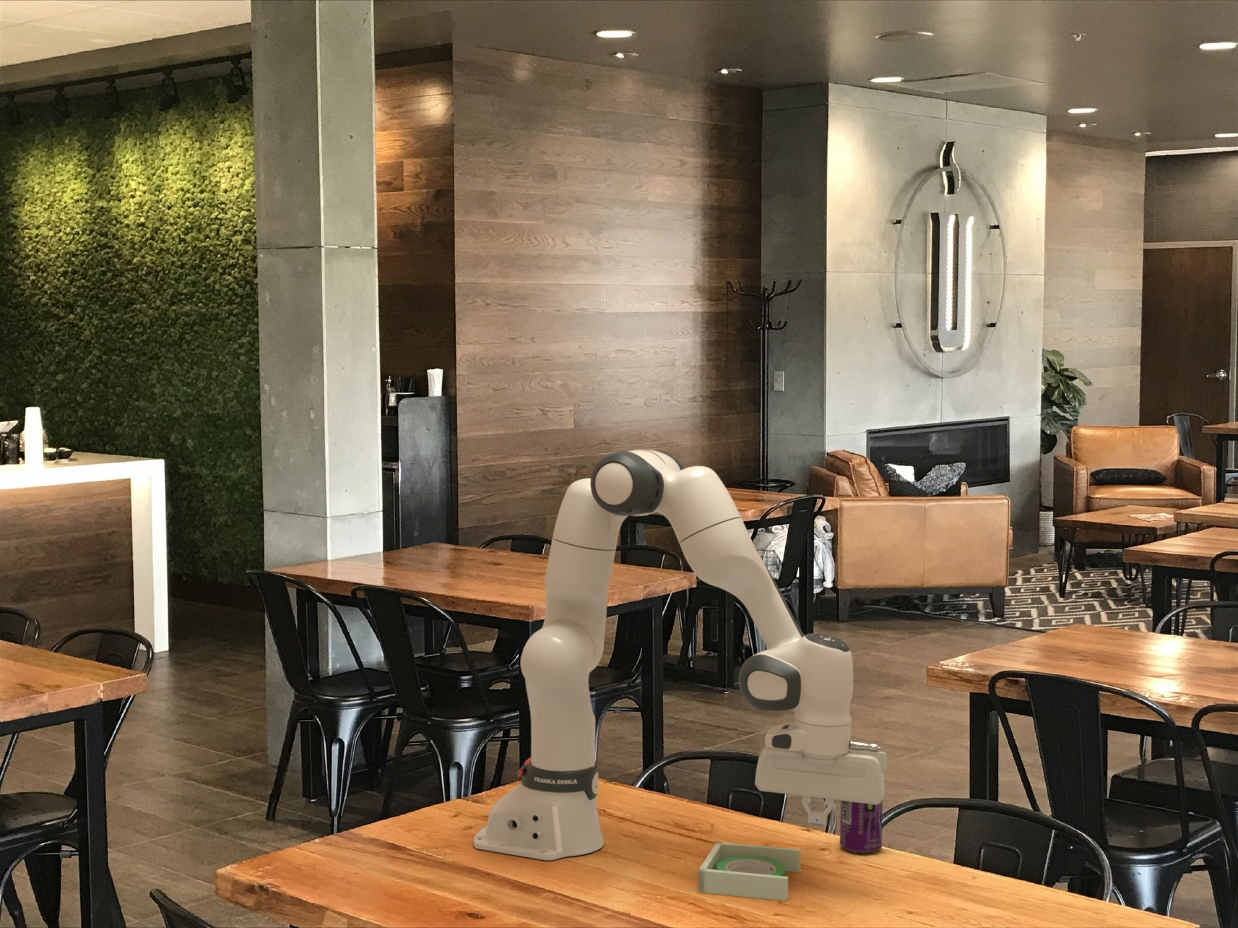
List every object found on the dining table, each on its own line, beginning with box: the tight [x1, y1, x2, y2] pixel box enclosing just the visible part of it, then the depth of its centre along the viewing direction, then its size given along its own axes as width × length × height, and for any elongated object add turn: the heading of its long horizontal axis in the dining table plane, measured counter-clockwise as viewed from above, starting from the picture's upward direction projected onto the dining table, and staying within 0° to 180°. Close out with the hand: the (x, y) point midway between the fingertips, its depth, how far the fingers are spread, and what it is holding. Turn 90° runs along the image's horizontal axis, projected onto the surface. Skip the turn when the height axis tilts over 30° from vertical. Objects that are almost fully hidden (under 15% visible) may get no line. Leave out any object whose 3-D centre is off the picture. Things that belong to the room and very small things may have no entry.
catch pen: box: [697, 841, 802, 902], centre depth 234 cm, size 14×15×4 cm
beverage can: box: [839, 800, 883, 855], centre depth 251 cm, size 7×7×12 cm
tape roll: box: [717, 856, 787, 876], centre depth 234 cm, size 11×11×3 cm
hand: (817, 823), depth 231 cm, fingers closed
